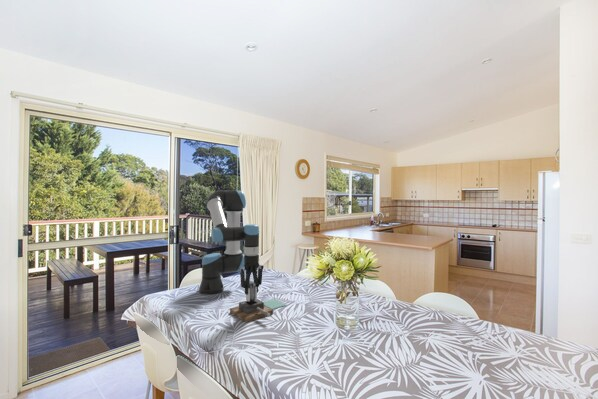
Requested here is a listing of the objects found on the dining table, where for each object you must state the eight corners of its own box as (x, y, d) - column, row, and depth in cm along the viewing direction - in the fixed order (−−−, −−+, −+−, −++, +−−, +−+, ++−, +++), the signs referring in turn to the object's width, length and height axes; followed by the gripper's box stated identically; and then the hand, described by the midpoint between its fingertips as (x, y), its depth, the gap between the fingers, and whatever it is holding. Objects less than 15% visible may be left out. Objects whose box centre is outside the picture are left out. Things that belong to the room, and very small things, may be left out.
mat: (259, 303, 168) (259, 302, 168) (274, 299, 174) (274, 298, 174) (272, 309, 159) (272, 308, 159) (286, 305, 165) (286, 304, 165)
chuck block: (230, 312, 155) (230, 301, 155) (256, 305, 165) (256, 295, 165) (254, 327, 136) (254, 316, 136) (282, 318, 147) (282, 307, 147)
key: (245, 306, 155) (245, 281, 155) (251, 305, 157) (251, 280, 157) (251, 310, 150) (251, 284, 150) (257, 308, 152) (257, 282, 152)
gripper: (240, 257, 146) (240, 305, 146) (268, 253, 156) (268, 298, 156) (233, 255, 151) (233, 300, 152) (261, 251, 161) (261, 294, 162)
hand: (251, 299), depth 154 cm, fingers closed on key, 3 cm apart
